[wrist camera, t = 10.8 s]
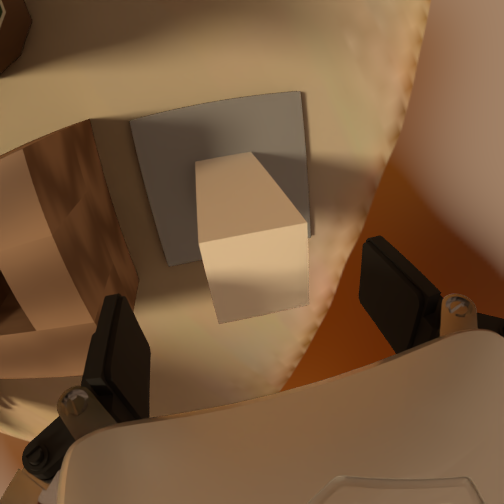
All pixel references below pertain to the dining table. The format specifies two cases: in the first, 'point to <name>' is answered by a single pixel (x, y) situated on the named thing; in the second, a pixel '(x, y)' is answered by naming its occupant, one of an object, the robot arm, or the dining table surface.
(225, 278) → the square peg
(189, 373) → the dining table surface
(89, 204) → the wooden square ring
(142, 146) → the rubber mat
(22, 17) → the beer bottle
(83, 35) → the dining table surface
